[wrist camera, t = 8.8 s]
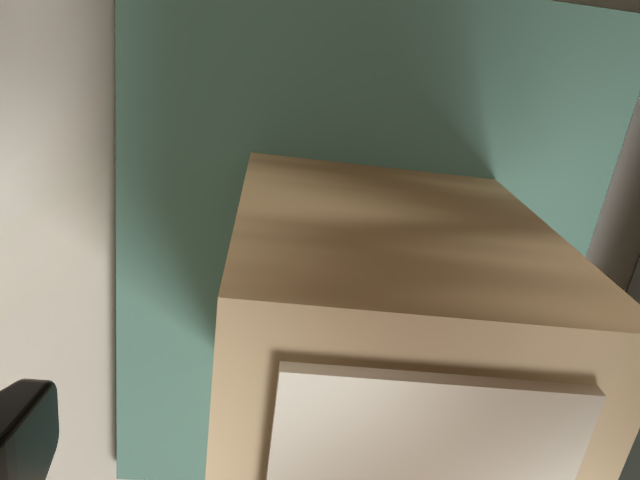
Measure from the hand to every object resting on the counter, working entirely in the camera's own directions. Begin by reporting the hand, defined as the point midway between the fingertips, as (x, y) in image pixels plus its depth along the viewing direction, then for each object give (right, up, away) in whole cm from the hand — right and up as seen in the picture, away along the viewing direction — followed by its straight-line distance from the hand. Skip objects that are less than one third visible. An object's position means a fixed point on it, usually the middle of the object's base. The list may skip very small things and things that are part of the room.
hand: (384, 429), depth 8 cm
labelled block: (0, +2, +4) cm, 5 cm away
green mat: (0, +2, +5) cm, 5 cm away
